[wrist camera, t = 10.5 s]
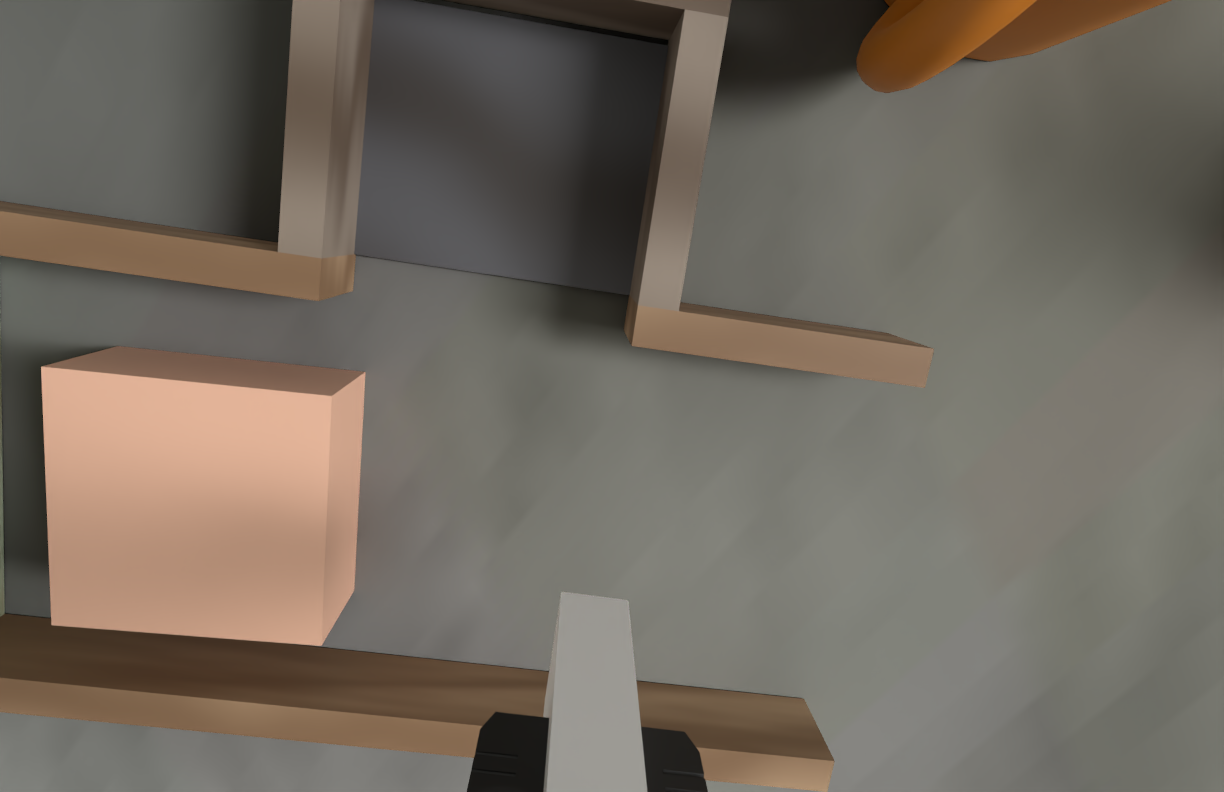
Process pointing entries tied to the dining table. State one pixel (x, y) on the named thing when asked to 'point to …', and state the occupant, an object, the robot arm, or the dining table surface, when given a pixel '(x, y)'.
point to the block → (201, 494)
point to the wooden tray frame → (463, 240)
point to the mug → (974, 33)
